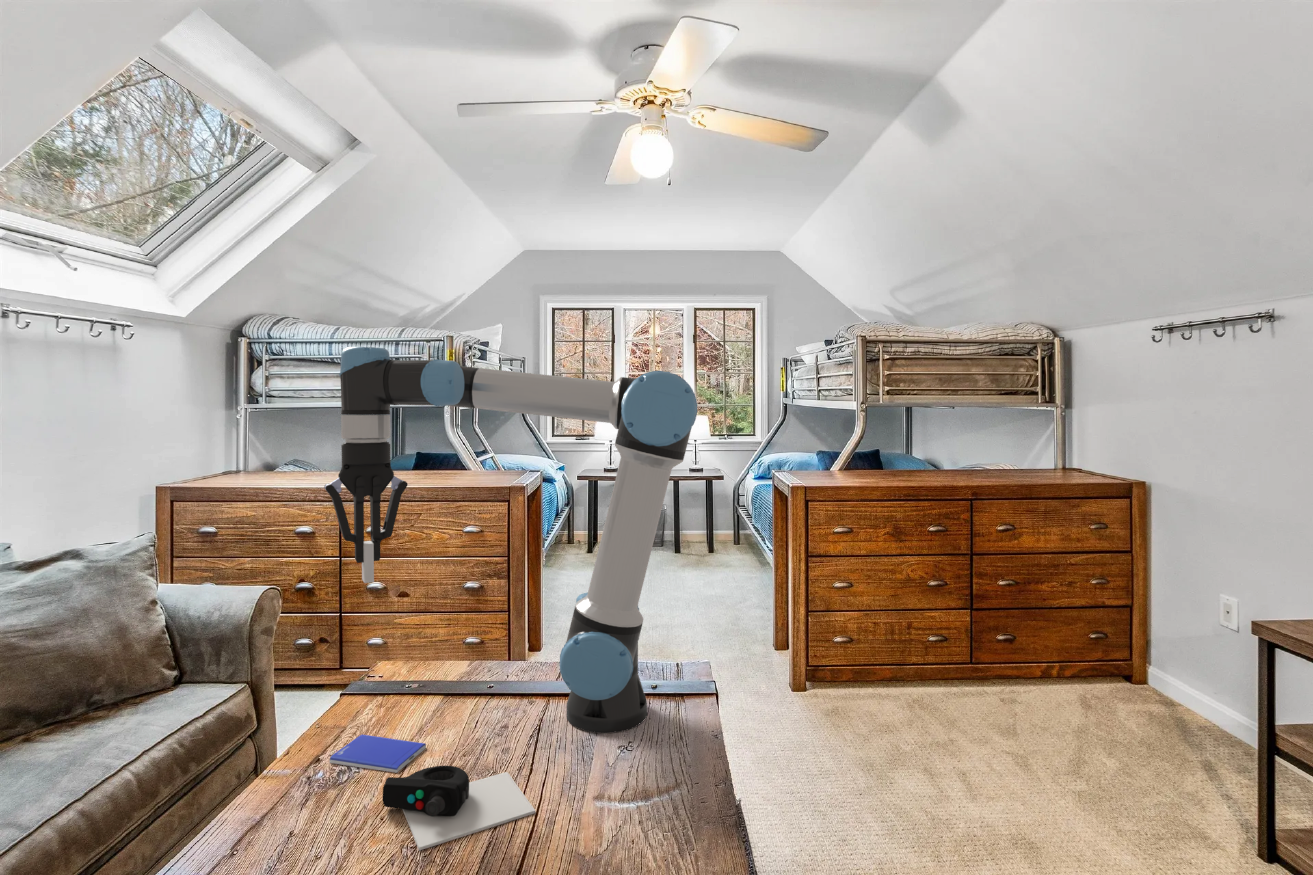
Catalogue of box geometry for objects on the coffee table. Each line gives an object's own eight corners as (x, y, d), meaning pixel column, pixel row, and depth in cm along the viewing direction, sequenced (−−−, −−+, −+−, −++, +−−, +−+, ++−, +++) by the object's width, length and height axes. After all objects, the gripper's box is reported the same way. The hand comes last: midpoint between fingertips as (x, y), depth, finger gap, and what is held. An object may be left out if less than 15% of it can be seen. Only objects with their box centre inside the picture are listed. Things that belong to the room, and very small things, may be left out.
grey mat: (507, 774, 107) (507, 771, 107) (535, 812, 97) (535, 810, 97) (400, 804, 99) (400, 801, 99) (418, 850, 88) (418, 847, 88)
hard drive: (329, 756, 110) (396, 766, 107) (362, 733, 118) (426, 741, 115) (329, 766, 110) (397, 776, 107) (362, 741, 118) (426, 750, 115)
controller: (484, 792, 102) (450, 827, 92) (409, 785, 104) (369, 818, 94) (484, 763, 102) (450, 794, 92) (409, 756, 104) (369, 786, 95)
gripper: (402, 439, 120) (404, 571, 121) (320, 440, 113) (322, 580, 114) (411, 440, 114) (413, 580, 115) (325, 442, 107) (327, 591, 108)
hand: (368, 580), depth 114 cm, fingers closed
